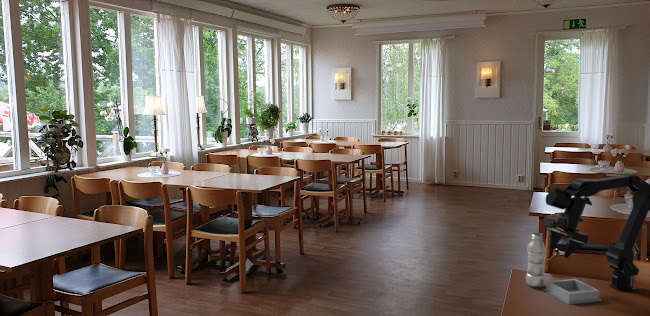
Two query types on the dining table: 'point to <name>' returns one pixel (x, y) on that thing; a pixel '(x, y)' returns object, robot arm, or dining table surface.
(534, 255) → the plastic bottle
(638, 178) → the robot arm
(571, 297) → the bottle dock
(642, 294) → the dining table surface
